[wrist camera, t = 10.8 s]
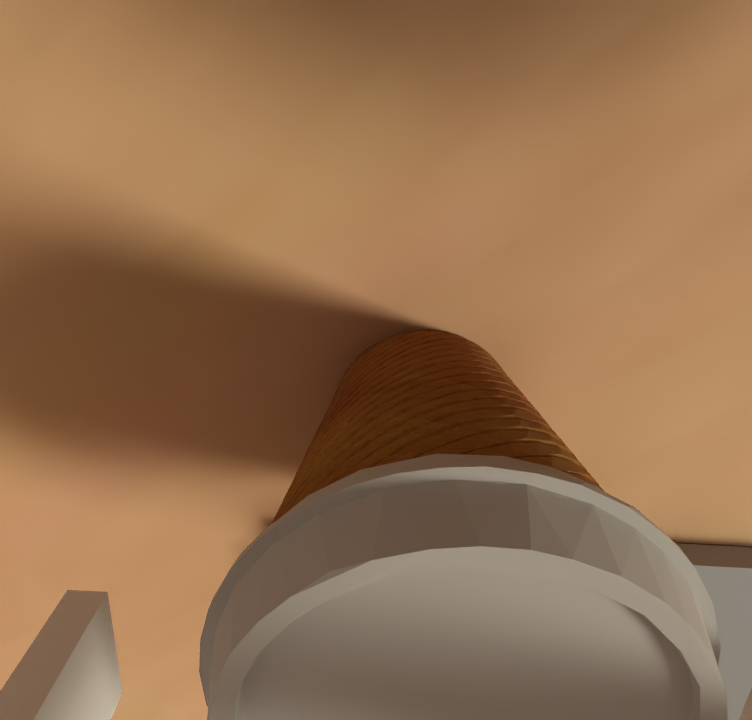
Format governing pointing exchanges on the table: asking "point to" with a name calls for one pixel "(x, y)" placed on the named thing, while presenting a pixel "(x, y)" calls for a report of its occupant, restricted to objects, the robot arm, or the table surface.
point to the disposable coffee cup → (455, 569)
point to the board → (729, 613)
